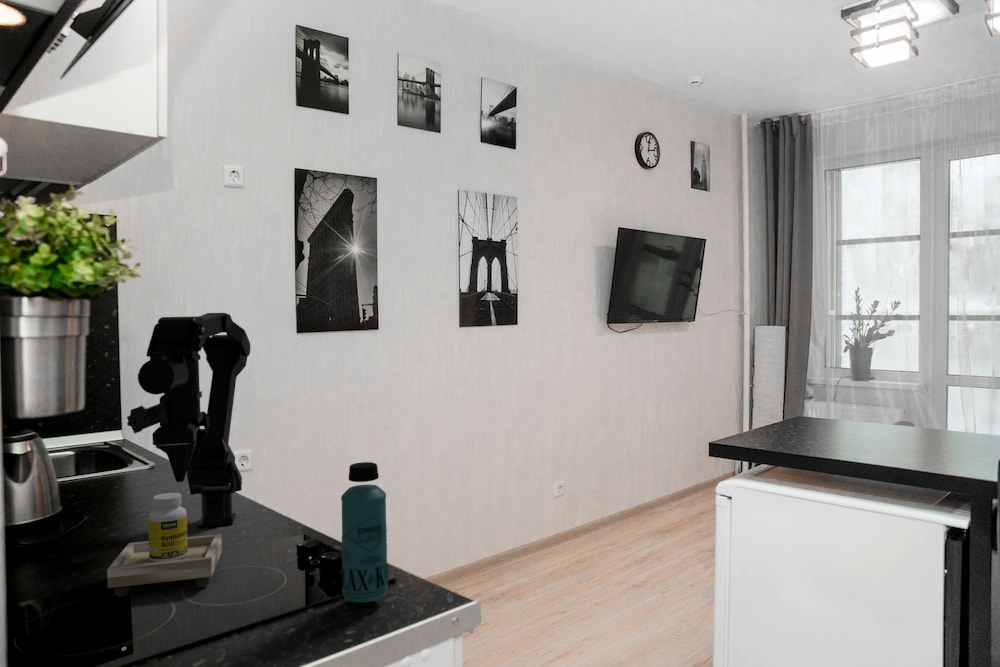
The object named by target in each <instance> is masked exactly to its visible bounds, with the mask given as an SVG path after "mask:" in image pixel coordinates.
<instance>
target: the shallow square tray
mask: <svg viewBox="0 0 1000 667" xmlns="http://www.w3.org/2000/svg"><path fill="white" fill-rule="evenodd" d="M222 553H223V534H222V533H220V534H219V533H217V534H210V535H209V534H208V535H201V536H200V535H199V536H187V555H186V556H185V557H184V558H182V559H180V560H174V561H165V562H152V561H150V559H149V540H146V541H145V540H144V541H135V542H129V543H128V544H127V545H126V546H125V547H124V549H123V550H122V551H121V552H120V554H118V556H117V557H115V559H114V560H113V561H112V563H111V564H110V566H108V568H107V569H106V572H107V573H106V574H107V575H106V576H107V577H106V578H107V588H108V589H111V588H114V594H115V595H116V596H117V597H118V598H119V597H120V598H121V597H126V596H128V594H129V593H130V591H131V586H138V585H139V586H140V585H145V584H147V585H148V584H157V583H166V582H174V581H183V580H184V581H186V580H194V579H195V585H196V587H198V588H205V587H207V586H208V585H209V584H210V581H211V578H210V577H213V574H214V572H215V569H216V568H217V564H218V562H219V559H220V557H221V554H222Z"/></svg>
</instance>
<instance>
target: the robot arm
mask: <svg viewBox="0 0 1000 667" xmlns="http://www.w3.org/2000/svg"><path fill="white" fill-rule="evenodd" d="M222 333H225V334H222ZM202 349H203V352H204V353H205V355H206V356H205V359H206V362H207V364H208V366H209V368H210V370H211V371H212V374H211V383H210V390H209V396H208V405H207V411H201V398H202V397H203V392H202V390H201V391H200V362H199V361H200V360H201V358H202V357H201V355H200V354H199V352H201V351H202ZM250 354H251V342H250V340H249V337H248V334H247V332H246V330H245V329H244V328H243V327H241V326H240V325H239V324H238V323H236V322H235V321H233V318H232V316H231V315H230V313H227V312H207V313H205V314H202V315H198V316H162V317H160V318H159V319H158V320H157V323H156V324H155V325H154V327H153V331H152V334H151V337H150V340H149V344H148V348H147V350H146V356H147V357H148V358H149V360H148V361H146V362H144V363H143V364H142V365H141V367H140V368H139V371H138V374H137V381H138V384H139V386H140V387H141V389H142V390H143V391H144V392H146V393H148V394H150V395H154V396H155V395H156V396H157V395H161V396H160V397H159V403H158V404H155V405H152V406H150V407H147V408H146V407H145V406H143V405H140V406H138V407H135V408H132V409H130V415H128V416H126V418H127V426H128V427H131V429H132V432H133V434H137V433H141V432H142V431H143V430H144V429H148V428H149V427H152V426H155V425H157V424H159V427H157V428H156V429H155V430H154V431H153V432H152V433H151V436H152V445H153V446H155V448H156V450H157V449H158V450H160V451H161V452H163V453H165V454H166V456H167V458H168V461H169V464H170V467H171V470H172V473H173V476H174V480H175V482H176V483H183V482H184V480H185V478H186V476H187V482H188V489H189V494H190V495H192V496H193V495H200V505H201V506H200V509H201V518H200V520H199V521H198V523H197V528H207V527H217V526H228V525H233V524H234V523H235V521H236V517H237V513H236V512H233V494H235V493H236V492H241V491H242V485H243V476H242V474H241V472H240V470H239V468H238V466H237V464H236V456H235V454H234V452H233V451H232V448H231V447H230V445H229V441H230V434H231V433H230V432H231V424H232V418H233V416H232V415H233V408H234V400H235V392H236V384H237V378H238V376H239V374H240V373H241V372H242V371H243V370H244V369H245V367H247V366H246V365H247V361H248V357H249V356H250ZM201 427H204V428H201Z"/></svg>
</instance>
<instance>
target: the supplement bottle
mask: <svg viewBox="0 0 1000 667" xmlns="http://www.w3.org/2000/svg"><path fill="white" fill-rule="evenodd" d="M182 502H183V500H182V494H181V493H179V492H167V493H166V492H164V493H160V494H157V495H155V496H153V497H152V505H153V508H154V509H152V510H151V511H150V512H149V513H148V515H147V516H148V517H147V518H148V521H147V522H148V541H149V559H150V561H152V562H165V561H174V560H180V559H182V558H184V557H185V556H186V555H187V537H188V526H187V525H188V516H187V510H186V508H185V507H183V506H181V504H182Z"/></svg>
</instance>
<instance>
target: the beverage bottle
mask: <svg viewBox="0 0 1000 667" xmlns="http://www.w3.org/2000/svg"><path fill="white" fill-rule="evenodd" d="M378 468H379V467H378V464H377V463H375V462H371V461H369V462H368V461H364V462H363V461H362V462H355V463H353V464H350V465H349V468H348V481H350V482H352V483H353V482H354V483H365V482H366V483H368V482H373V481H376V480H378V479H379V469H378ZM340 500H341V548H340V549H341V550H340V552H341V558H340V559H341V563H340V566H341V567H340V568H341V570H340V571H341V572H340V573H341V576H340V577H341V581H342V591H341V593H342V595H343V597H344V599H345V600H346V601H348V602H352V603H369V602H373V601H377V600H379V599H382V598H383V597H384V596H385V595H386V594H387V591H388V588H389V568H388V548H387V547H389V546H388V539H387V538H388V535H387V532H388V525H387V504H386V503H387V502H386V501H387V493H386V492H385V491H384V489H382V488H381V487H379V485H376V484H358V485H353V486H350V487H348V489H346V490H345V492H343V494H342V495H341V497H340Z"/></svg>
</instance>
